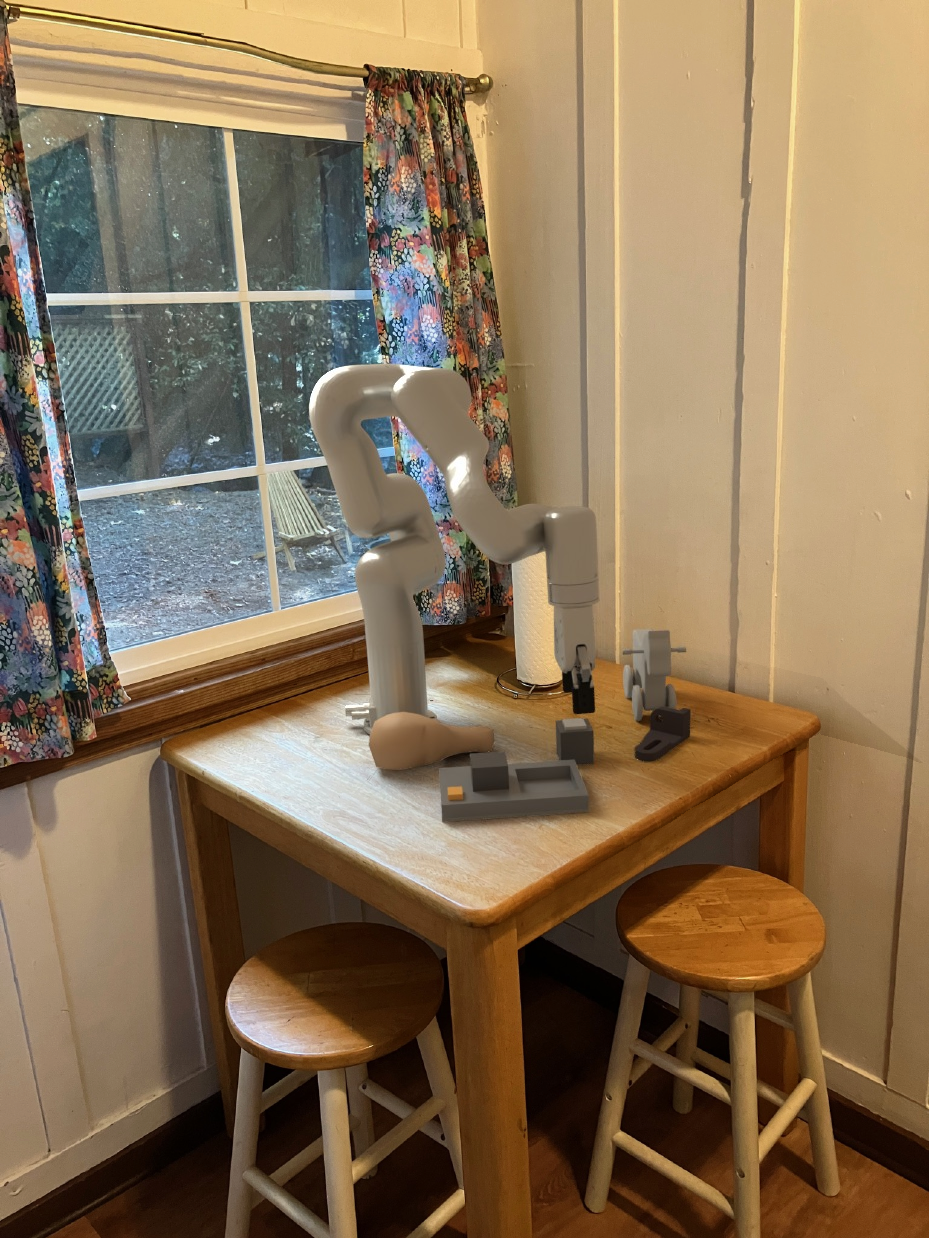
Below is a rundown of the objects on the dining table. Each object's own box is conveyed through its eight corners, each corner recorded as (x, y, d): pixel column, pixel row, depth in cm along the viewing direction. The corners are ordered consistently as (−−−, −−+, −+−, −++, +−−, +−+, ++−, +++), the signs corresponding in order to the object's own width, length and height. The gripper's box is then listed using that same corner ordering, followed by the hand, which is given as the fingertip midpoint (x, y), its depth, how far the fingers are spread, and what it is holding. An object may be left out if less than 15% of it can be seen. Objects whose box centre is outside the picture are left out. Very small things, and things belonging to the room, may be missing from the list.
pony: (692, 731, 156) (693, 632, 152) (628, 733, 157) (627, 634, 152) (669, 689, 176) (670, 600, 171) (612, 692, 176) (611, 603, 172)
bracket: (618, 756, 149) (618, 726, 147) (657, 731, 158) (657, 702, 157) (652, 765, 145) (652, 734, 144) (690, 738, 154) (690, 709, 153)
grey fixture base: (442, 821, 130) (439, 781, 129) (439, 783, 142) (437, 746, 140) (589, 812, 131) (588, 771, 129) (574, 774, 142) (574, 737, 141)
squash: (358, 763, 151) (359, 706, 151) (477, 756, 158) (478, 702, 158) (376, 778, 141) (377, 717, 141) (502, 770, 148) (503, 712, 147)
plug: (561, 766, 146) (560, 729, 144) (556, 753, 151) (555, 717, 149) (593, 764, 146) (593, 727, 144) (588, 751, 151) (587, 715, 149)
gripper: (540, 581, 149) (546, 686, 154) (556, 607, 133) (562, 724, 137) (588, 577, 150) (592, 682, 154) (610, 603, 133) (614, 719, 137)
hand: (578, 701), depth 145 cm, fingers open, 9 cm apart
